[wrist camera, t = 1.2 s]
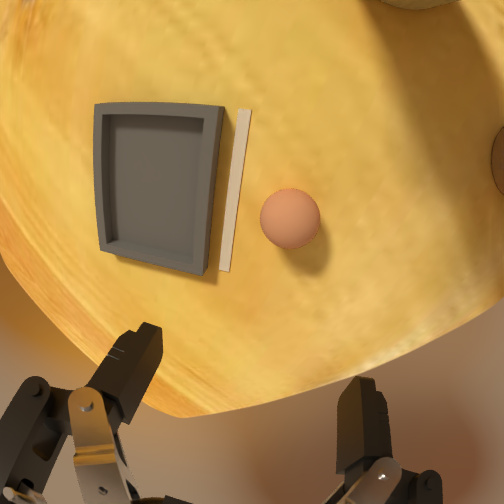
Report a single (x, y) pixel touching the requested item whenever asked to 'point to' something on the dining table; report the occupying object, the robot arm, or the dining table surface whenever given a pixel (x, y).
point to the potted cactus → (417, 3)
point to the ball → (290, 218)
